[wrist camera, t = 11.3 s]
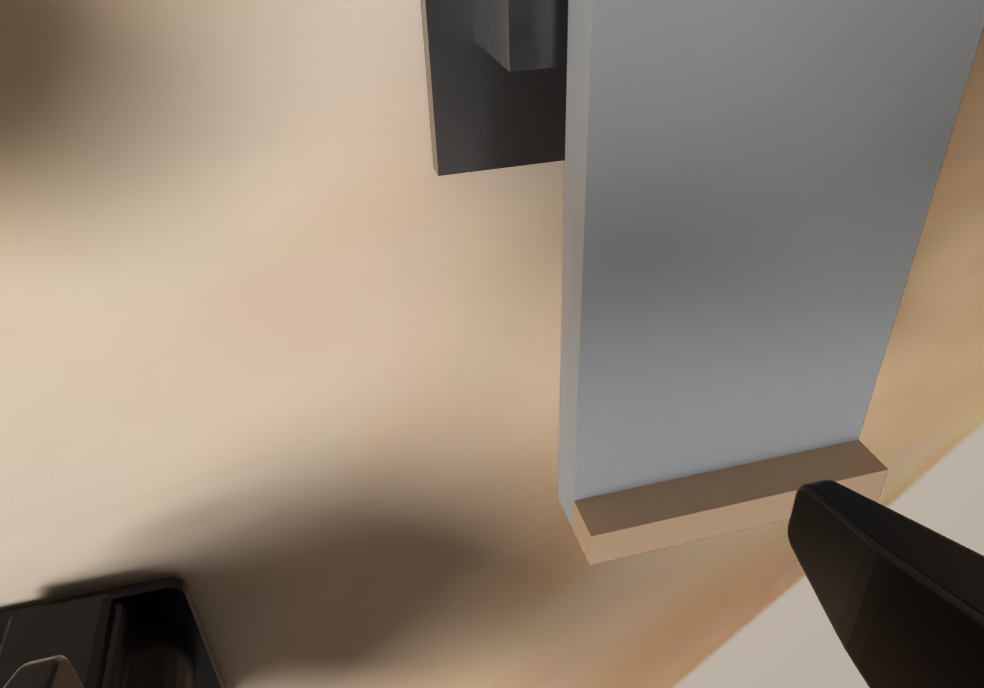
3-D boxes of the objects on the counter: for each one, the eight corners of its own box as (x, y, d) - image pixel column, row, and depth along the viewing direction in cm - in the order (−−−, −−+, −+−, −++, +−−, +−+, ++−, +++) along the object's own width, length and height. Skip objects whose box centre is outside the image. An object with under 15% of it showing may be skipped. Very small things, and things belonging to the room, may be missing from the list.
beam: (823, 440, 22) (878, 498, 20) (557, 496, 20) (589, 565, 18) (1180, -874, 10) (1408, -1052, 8) (589, -979, 8) (693, -1230, 6)
